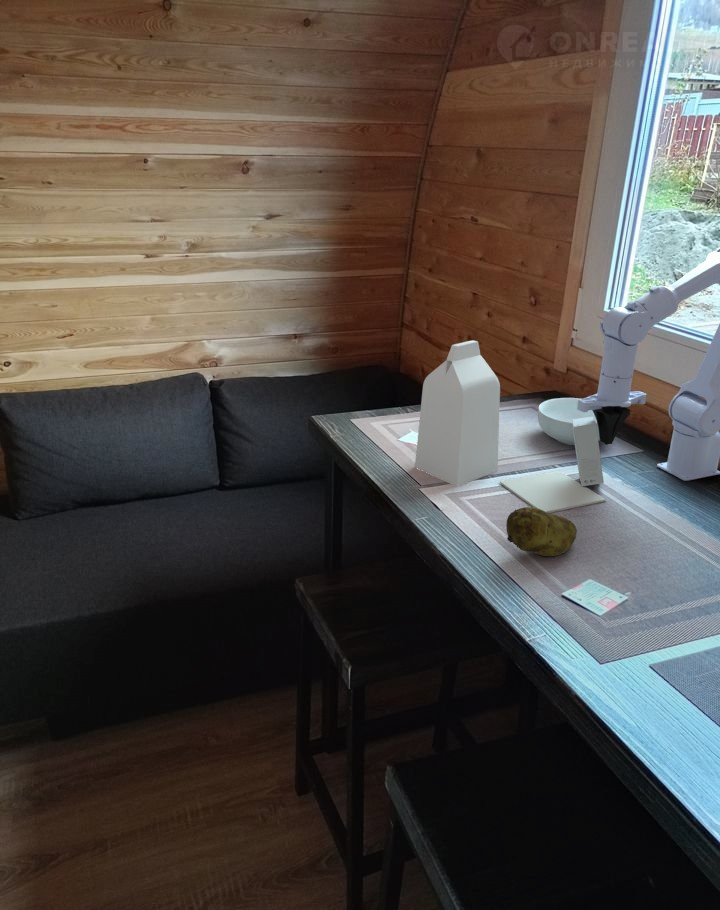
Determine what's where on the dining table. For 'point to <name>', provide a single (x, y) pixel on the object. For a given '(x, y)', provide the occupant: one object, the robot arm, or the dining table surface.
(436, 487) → the dining table surface
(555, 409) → the cereal bowl
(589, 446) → the skincare box
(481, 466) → the milk
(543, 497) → the mat
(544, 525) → the potato
